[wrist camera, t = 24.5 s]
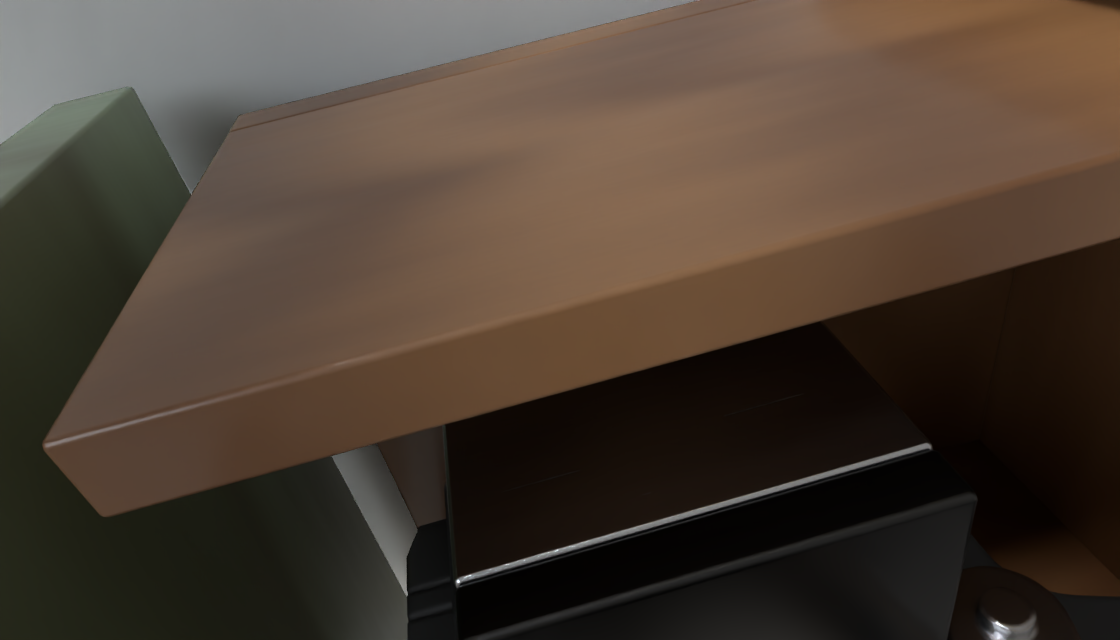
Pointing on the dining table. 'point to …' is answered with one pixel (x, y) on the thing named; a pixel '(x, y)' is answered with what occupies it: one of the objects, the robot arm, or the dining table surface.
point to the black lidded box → (708, 506)
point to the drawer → (549, 290)
